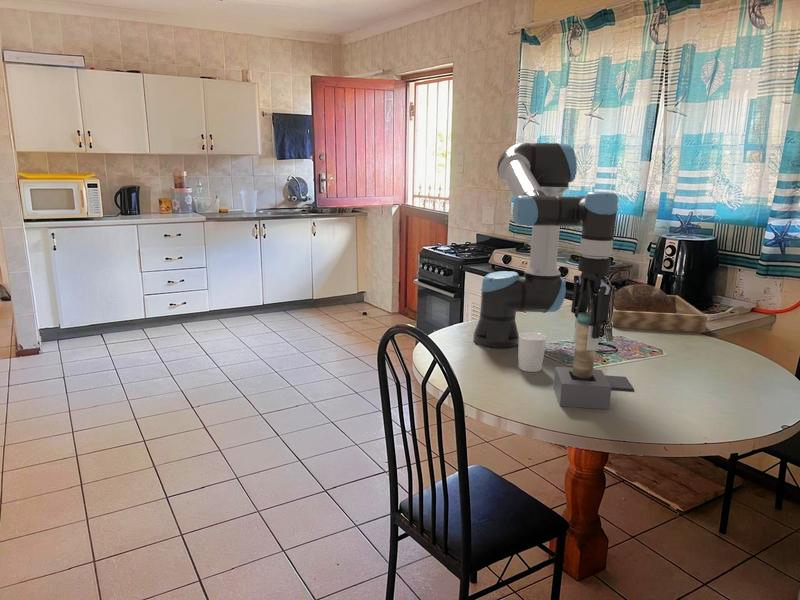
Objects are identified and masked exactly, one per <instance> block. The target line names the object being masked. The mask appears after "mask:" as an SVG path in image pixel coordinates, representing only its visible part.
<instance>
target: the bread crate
mask: <svg viewBox="0 0 800 600" xmlns="http://www.w3.org/2000/svg"><path fill="white" fill-rule="evenodd" d="M598 294H599V293H598ZM666 295H667V296H668V297H669V298H670V299H671V301H672V303H673V305H674V308H675V311H676V314H674V313H655V312H637V311H619V310H616V309H615V308H614V310H613V317H612V322H613V327H612V328H623V329H624V328H628V329H642V330H643V329H644V330H663V331H676V332H677V331H678V332H680V331H681V332H697V333H705V332H706V329H707V328H706V327H707V321H708V315H706V314H705V313H704V312H702V311H701V310H699V309H697V308H696V307H695V306H694V305H692V304H690V302H687V301H686V300H685V299H684V298H682V297H681V296H679V295H675V294H674V295H673V294H671V295H670V294H666Z"/></svg>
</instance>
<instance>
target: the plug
mask: <svg viewBox="0 0 800 600" xmlns="http://www.w3.org/2000/svg"><path fill="white" fill-rule="evenodd" d="M577 322H578V323H577V333H576V342H575V344H574V353H573V362H572V368H573V371H572V374H573V375H574V376H577V377H580V378H590V377H592V375H593V369H594V365H595V356H596V350H586V348H587V339H588V330H589V324H591V311H587V312H580V313H578V319H577Z"/></svg>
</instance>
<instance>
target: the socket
mask: <svg viewBox="0 0 800 600" xmlns="http://www.w3.org/2000/svg"><path fill="white" fill-rule="evenodd" d="M572 371H573V367H568V366H567V367H566V366H565V367H563V366H555V367H554V377H553V379H554V380H553V391H554V393H555V396H556V399H557V402H558V405H559V407H571V408H572V407H573V408H585V409H598V410H610V403H611V393H612V389H611V385H610V384H609V382H608V380H607V379H606V377H605V375H606V374H605V373H604V372H603V370H602V369H595V368H593V375H592V377H590V378H580V377H577V376H574V375H573V374H572Z"/></svg>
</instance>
